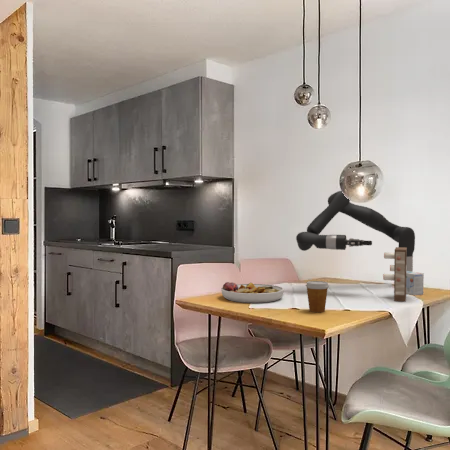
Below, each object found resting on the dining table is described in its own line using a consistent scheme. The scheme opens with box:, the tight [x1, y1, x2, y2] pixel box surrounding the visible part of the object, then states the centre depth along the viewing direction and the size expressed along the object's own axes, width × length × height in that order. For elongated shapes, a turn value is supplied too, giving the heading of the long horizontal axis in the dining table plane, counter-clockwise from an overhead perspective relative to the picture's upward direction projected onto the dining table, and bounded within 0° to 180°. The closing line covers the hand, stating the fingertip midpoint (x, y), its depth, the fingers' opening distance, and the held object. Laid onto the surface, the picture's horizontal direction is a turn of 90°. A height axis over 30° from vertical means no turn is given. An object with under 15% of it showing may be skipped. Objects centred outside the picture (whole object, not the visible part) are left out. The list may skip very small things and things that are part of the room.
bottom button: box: [382, 273, 394, 282], centre depth 234 cm, size 3×7×3 cm, turn 68°
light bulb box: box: [406, 271, 425, 296], centre depth 247 cm, size 11×7×11 cm, turn 25°
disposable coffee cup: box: [305, 280, 330, 313], centre depth 203 cm, size 10×10×12 cm
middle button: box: [389, 264, 407, 272], centre depth 228 cm, size 3×7×3 cm, turn 68°
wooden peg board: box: [393, 246, 407, 303], centre depth 232 cm, size 17×5×24 cm, turn 158°
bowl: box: [220, 281, 285, 304], centre depth 233 cm, size 30×30×8 cm
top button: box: [383, 252, 395, 260], centre depth 238 cm, size 3×7×3 cm, turn 68°
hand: (371, 243), depth 238 cm, fingers closed
